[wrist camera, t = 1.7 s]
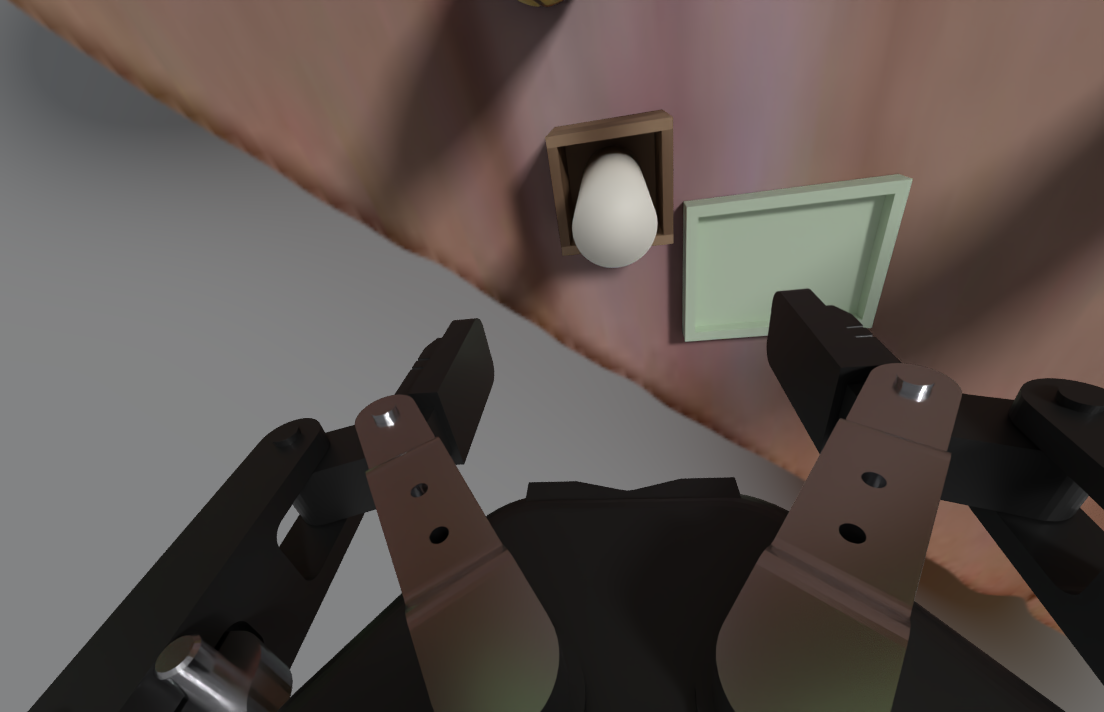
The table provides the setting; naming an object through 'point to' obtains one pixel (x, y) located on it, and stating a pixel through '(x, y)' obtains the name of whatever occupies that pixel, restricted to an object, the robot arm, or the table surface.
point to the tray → (787, 252)
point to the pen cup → (634, 132)
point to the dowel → (613, 210)
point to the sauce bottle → (541, 2)
